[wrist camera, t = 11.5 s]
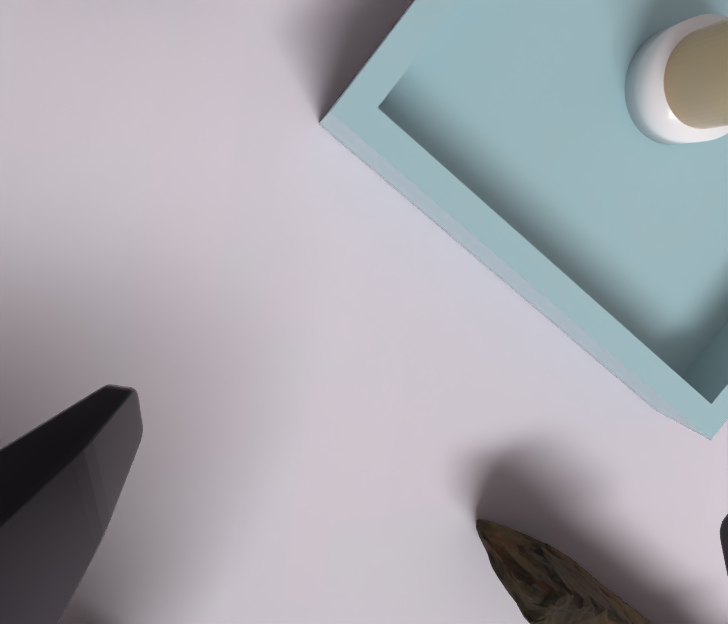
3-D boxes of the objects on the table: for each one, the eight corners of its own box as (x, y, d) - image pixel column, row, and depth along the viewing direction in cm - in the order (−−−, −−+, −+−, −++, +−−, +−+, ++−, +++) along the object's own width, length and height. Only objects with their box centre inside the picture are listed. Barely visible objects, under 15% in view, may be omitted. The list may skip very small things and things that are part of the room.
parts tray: (657, 411, 25) (710, 440, 22) (318, 123, 20) (330, 112, 17) (938, 65, 24) (1032, 47, 21) (656, -318, 19) (727, -409, 16)
